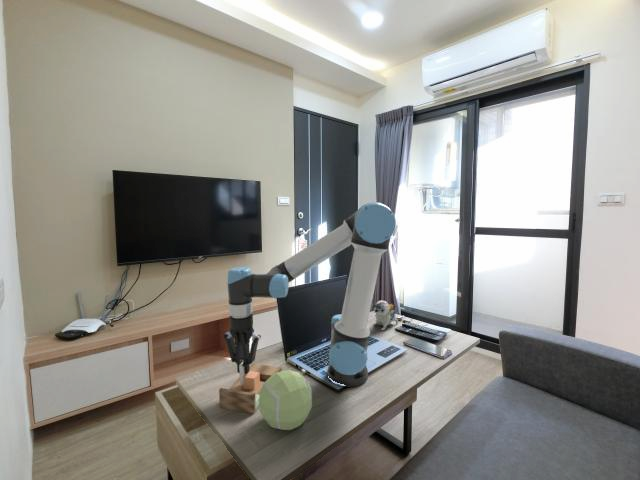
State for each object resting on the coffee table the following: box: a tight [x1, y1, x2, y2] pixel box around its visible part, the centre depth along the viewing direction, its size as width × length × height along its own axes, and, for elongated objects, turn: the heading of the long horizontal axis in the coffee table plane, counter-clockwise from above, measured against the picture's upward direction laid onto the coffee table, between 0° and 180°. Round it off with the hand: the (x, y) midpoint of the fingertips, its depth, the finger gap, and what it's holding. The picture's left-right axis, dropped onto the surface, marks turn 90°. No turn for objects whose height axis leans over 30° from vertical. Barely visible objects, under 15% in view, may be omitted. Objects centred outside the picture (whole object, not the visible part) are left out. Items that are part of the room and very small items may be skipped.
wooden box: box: [218, 363, 283, 415], centre depth 106 cm, size 12×22×6 cm, turn 165°
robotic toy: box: [373, 300, 399, 331], centre depth 160 cm, size 13×17×15 cm
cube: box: [243, 371, 260, 390], centre depth 103 cm, size 4×4×4 cm
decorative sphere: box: [258, 369, 313, 431], centre depth 89 cm, size 15×15×15 cm
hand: (244, 381), depth 104 cm, fingers closed
